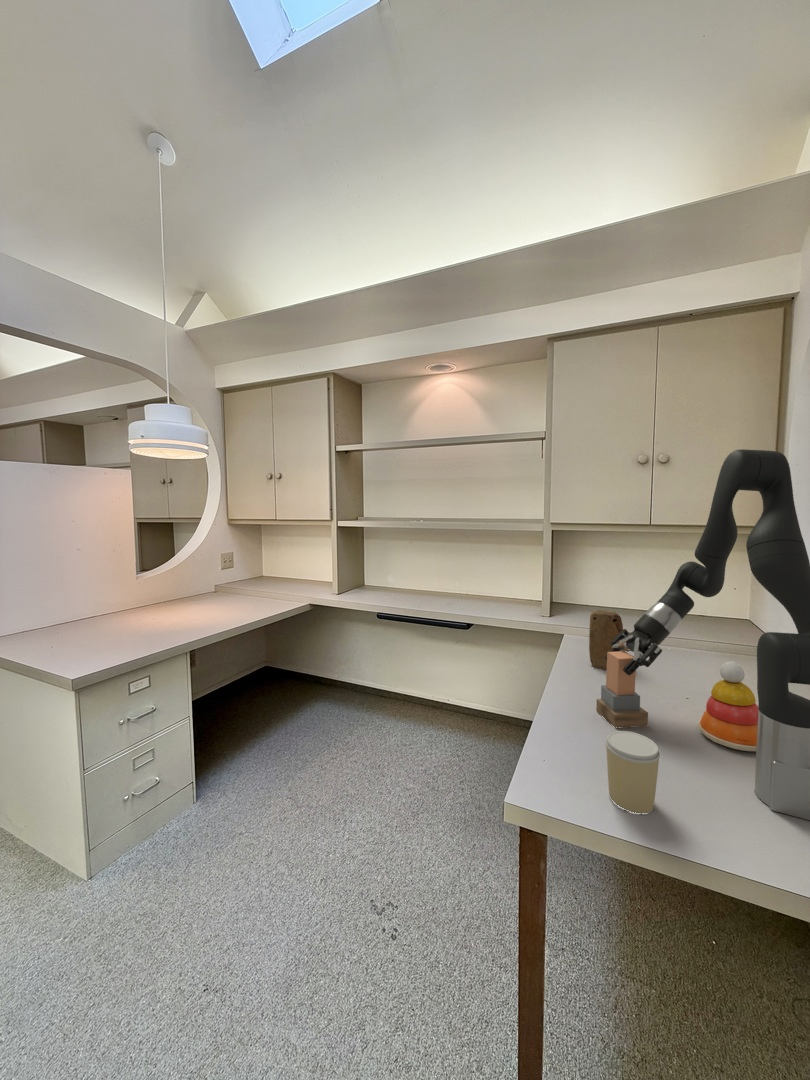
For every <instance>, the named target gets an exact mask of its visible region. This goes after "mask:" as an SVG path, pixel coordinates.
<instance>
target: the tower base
mask: <svg viewBox="0 0 810 1080" xmlns="http://www.w3.org/2000/svg"><path fill="white" fill-rule="evenodd" d="M595 711H597V713H598V715H600V716H601V717H602V716H603V717H604V718H605V719H606V720H607V721H606V720H605V719H604V718H603V717H602V718H603V719H604V720H605V721H606V722H608V723H609V725H611V724H612V725H613V726H614V727H615V728H614V727H613V726H612V725H611V726H612V727H613V728H614V729H619V728H618V727H627V728H632V727H631V726H641V727H648V726H649V725H648V724H649V712H648V711H646V710H645V709H644V708H642V707H641V706H640V711H613V710H612V709H611V708H609V707H608V706H607V705H606V704H605V703H604V702H603V701H602V700H601V698H596V710H595ZM647 725H648V726H647ZM616 727H617V728H616Z"/></svg>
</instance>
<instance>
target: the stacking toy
mask: <svg viewBox="0 0 810 1080" xmlns="http://www.w3.org/2000/svg"><path fill="white" fill-rule="evenodd" d="M719 674H720V676H721V678H722V679H721V680H718V682H716V683H715V684H714V685H713V686H712V688H711V693H710V694H711V696H710V697H708V699H707V702H706V705H705V709H706V710H705V711H704V712H703V714H702V715H701V718H700V719H699V720H698V722H697V728H698V729H699V731H700V732H701V733H702V734H703V735H704V736H705V737H706V738H708V739H709V740H711V741H712V742H713V743H716V744H719V745H722V746H724V747H725V748H726V747H727V748H730V749H733V750H738V751H745V752H756V744H757V723H758V705H757V703H756V702H757V701H756V697H755V693H754V692H753V690H751V688H750V687H749V686H748V685H747V684H746V683H743V680H744V679H745V676H746V675H745V670H744V669H743V667H742V666H741V665H740V664H739V663H738V662H736V661H732V660H731V661H726V662H724V663H723V664H722V665H721V666H720V668H719Z"/></svg>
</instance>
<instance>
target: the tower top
mask: <svg viewBox="0 0 810 1080" xmlns="http://www.w3.org/2000/svg"><path fill="white" fill-rule="evenodd" d="M600 690H601V691H600V699H601V700H602V701H603V702H604V703H605V704H606V705H607V706H608V707H609V708H611V709H612V710H613V711H640V707H641V695H639V693H637V692H636V691H635V694H629V695H616V694H615V693H613V692H612V691H611V690H609V689H608V688H607V687H606V684H604V685H601V686H600Z"/></svg>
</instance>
